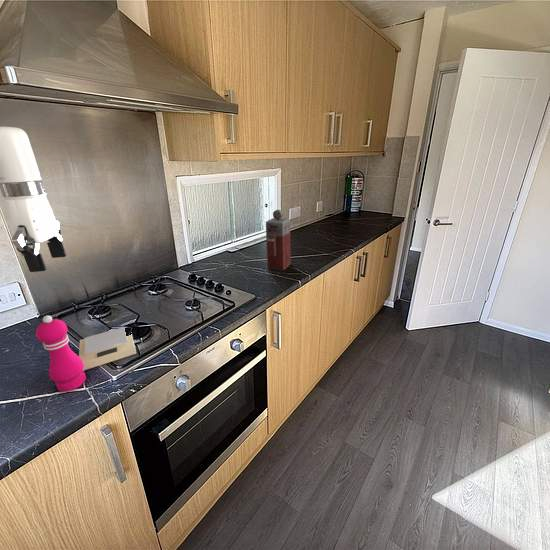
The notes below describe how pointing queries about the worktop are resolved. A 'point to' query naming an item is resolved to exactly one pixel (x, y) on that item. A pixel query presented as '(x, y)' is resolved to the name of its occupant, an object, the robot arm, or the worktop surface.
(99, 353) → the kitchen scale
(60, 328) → the pepper mill
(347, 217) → the worktop surface
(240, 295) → the worktop surface
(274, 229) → the red square decanter
